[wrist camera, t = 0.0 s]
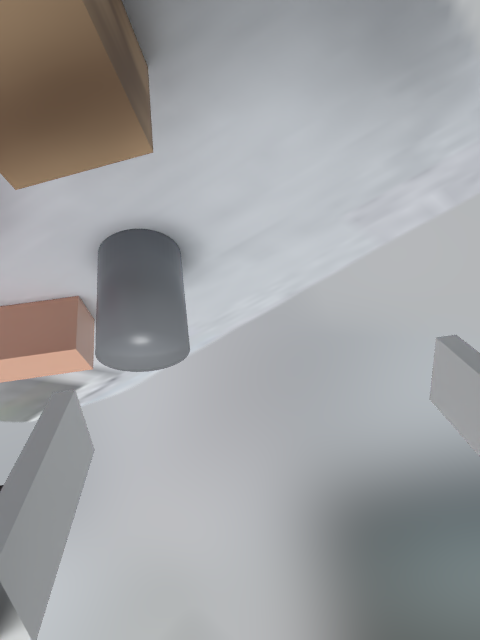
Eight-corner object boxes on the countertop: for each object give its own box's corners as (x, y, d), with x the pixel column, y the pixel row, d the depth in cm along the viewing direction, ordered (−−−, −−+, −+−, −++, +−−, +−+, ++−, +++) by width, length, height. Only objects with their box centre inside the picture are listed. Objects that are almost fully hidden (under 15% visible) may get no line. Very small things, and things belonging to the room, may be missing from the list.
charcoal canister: (85, 235, 28) (81, 339, 25) (173, 224, 29) (183, 325, 25) (111, 284, 34) (111, 376, 30) (185, 274, 34) (194, 364, 30)
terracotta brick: (-21, 308, 34) (-31, 364, 32) (78, 294, 34) (75, 349, 32) (4, 330, 38) (-3, 382, 35) (94, 318, 38) (93, 369, 36)
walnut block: (-76, -51, 15) (-121, 39, 12) (80, -105, 14) (71, -24, 12) (30, 101, 20) (15, 189, 17) (147, 66, 20) (153, 152, 17)
